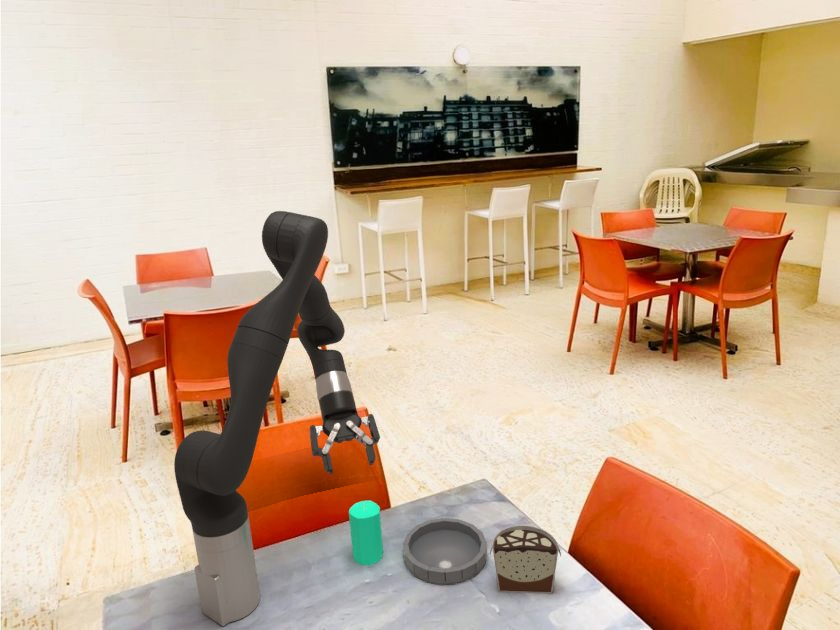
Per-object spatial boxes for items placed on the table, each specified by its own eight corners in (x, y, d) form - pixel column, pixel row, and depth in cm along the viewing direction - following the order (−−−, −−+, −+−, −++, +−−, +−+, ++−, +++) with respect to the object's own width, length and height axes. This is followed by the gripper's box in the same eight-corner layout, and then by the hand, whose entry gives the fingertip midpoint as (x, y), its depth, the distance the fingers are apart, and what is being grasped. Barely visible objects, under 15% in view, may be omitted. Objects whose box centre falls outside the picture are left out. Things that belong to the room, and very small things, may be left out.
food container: (556, 570, 111) (557, 524, 108) (560, 594, 105) (561, 546, 103) (490, 568, 113) (489, 522, 110) (490, 592, 107) (489, 544, 104)
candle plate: (458, 597, 106) (457, 584, 105) (387, 564, 115) (386, 551, 114) (501, 547, 118) (500, 535, 117) (434, 521, 127) (434, 509, 126)
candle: (364, 569, 114) (360, 515, 110) (347, 555, 118) (341, 502, 115) (389, 555, 117) (385, 502, 114) (371, 541, 122) (367, 489, 118)
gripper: (303, 395, 124) (318, 471, 117) (369, 383, 128) (387, 455, 121) (302, 408, 130) (316, 481, 123) (365, 397, 135) (382, 466, 128)
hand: (351, 468), depth 122 cm, fingers open, 8 cm apart
